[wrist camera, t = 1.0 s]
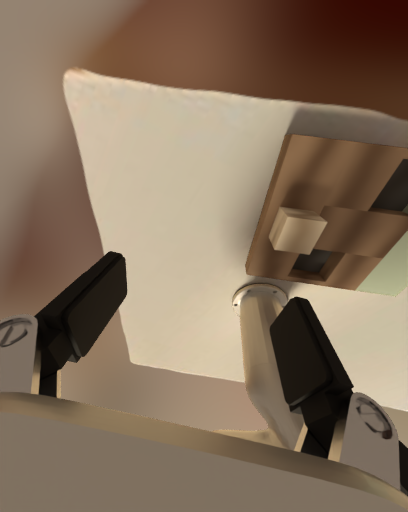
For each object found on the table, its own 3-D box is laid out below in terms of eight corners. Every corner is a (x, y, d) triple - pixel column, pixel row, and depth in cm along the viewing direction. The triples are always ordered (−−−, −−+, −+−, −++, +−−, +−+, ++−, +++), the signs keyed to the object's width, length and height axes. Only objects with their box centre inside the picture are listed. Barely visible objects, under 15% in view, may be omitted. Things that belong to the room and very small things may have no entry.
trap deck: (445, 154, 22) (473, 156, 19) (345, 279, 34) (354, 290, 32) (285, 134, 22) (292, 134, 20) (245, 265, 35) (246, 274, 32)
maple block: (314, 211, 24) (327, 222, 21) (299, 241, 27) (309, 254, 24) (279, 206, 25) (287, 216, 21) (268, 236, 27) (274, 249, 24)
